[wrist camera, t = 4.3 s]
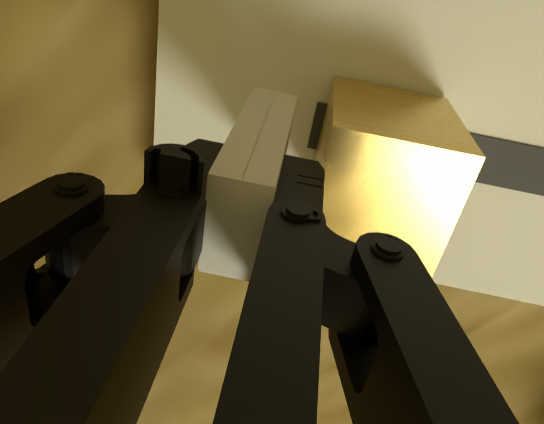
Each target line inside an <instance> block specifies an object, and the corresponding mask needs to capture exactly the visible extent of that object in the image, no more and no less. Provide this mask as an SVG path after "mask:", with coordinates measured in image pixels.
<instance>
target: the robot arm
mask: <svg viewBox="0 0 544 424" xmlns="http://www.w3.org/2000/svg"><path fill="white" fill-rule="evenodd" d="M297 97H298V96H297V95H292V94H287V93H282V92H277V91H272V90H267V89H262V88H256V87H254V88H253V90H252V92H251V94H250V96H249V98H248V100H247V102H246V103H245V105H244V107H243V109H242V111H241V113H240V115H239V116H238V118H237V120H236V122H235V124H234V126H233V128H232V130H231V131H230V133H229V135H228V137H227V139H226V141H225V143H219V142H214V141H209V140H204V139H196V140H194V141H192V142H190V143H188V144H186V145H182V144H173V143H168V144H158V145H154V146H151V147H149V148H148V149H146V150H145V152H144V184H143V186H142V187H141V188H140V190H139V191H138V192H137V194H133V195H105V185H104V184H103V183H102V181H101V180H100V179H98V178H96V177H94V176H91V175H87V174H83V173H77V172H76V173H75V172H69V173H65V174H58V175H55V176H52V177H49V178H46V179H45V180H43V181H41V182H39V183H37V184H35V185H33V186H31V187H29V188H27V189H26V190H24V191H22V192H20V193H18V194H16V195H14V196H12V197H10V198H8V199H7V200H5V201H3V202H1V203H0V424H136V423H137V421H138V418H139V416H140V413H141V411H142V408H143V406H144V404H145V401H146V399H147V396H148V394H149V391H150V389H151V386H152V384H153V381H154V379H155V376H156V374H157V372H158V369H159V367H160V364H161V362H162V359H163V357H164V354H165V352H166V349H167V347H168V345H169V342H170V340H171V337H172V335H173V332H174V330H175V327H176V325H177V322H178V320H179V318H180V315H181V313H182V310H183V308H184V305H185V303H186V300H187V298H188V295H189V293H190V290H191V288H192V286H193V278H194V268H195V266H196V263H197V261H198V259H199V266H198V271H200V272H205V273H210V274H215V275H220V276H225V277H229V278H234V279H239V280H244V281H249V285H248V289H247V293H246V296H245V300H244V304H243V308H242V312H241V316H240V320H239V324H238V327H237V331H236V335H235V339H234V343H233V347H232V351H231V355H230V358H229V362H228V366H227V370H226V374H225V378H224V382H223V386H222V389H221V393H220V397H219V401H218V405H217V409H216V413H215V417H214V420H213V424H316V423H317V402H318V382H319V361H320V340H321V325H323V326H325V327H327V328H329V340H330V344H331V348H332V351H333V355H334V358H335V362H336V365H337V369H338V373H339V376H340V380H341V383H342V387H343V391H344V394H345V398H346V401H347V405H348V409H349V412H350V416H351V419H352V423H353V424H519V423H518V421H517V419H516V418H515V416H514V414H513V413H512V411H511V409H510V408H509V406H508V404H507V403H506V401H505V399H504V398H503V396H502V394H501V393H500V391H499V389H498V388H497V386H496V384H495V383H494V381H493V379H492V378H491V376H490V374H489V373H488V371H487V369H486V368H485V366H484V364H483V363H482V361H481V359H480V358H479V356H478V354H477V353H476V351H475V349H474V348H473V346H472V344H471V343H470V341H469V339H468V338H467V336H466V334H465V333H464V331H463V329H462V328H461V326H460V324H459V323H458V321H457V319H456V317H455V316H454V314H453V312H452V311H451V309H450V307H449V306H448V304H447V302H446V301H445V299H444V297H443V296H442V294H441V292H440V291H439V289H438V287H437V286H436V284H435V282H434V281H433V279H432V277H431V276H430V274H429V272H428V271H427V269H426V267H425V266H424V264H423V262H422V261H421V259H420V257H419V256H418V254H417V252H416V251H415V250H414V249H413V248H412V247H411V246H410V245H409V244H408V243H406V242H405V241H403V240H402V239H400V238H398V237H396V236H393V235H391V234H387V233H380V232H370V233H366V234H363V235H361V236H360V237H359V238H358V240H357V241H356V243H355V242H353V241H350V240H348V239H345V238H343V237H341V236H339V235H337V234H336V233H335V232H333V231H332V230H331V229H330V228H329V227H328V226H327V225H326V218H325V215H324V213H323V198H324V180H325V170H324V168H323V167H322V165H321V164H320V163H319V161H315V160H310V159H305V158H300V157H295V156H290V155H286V154H287V149H288V144H289V138H290V133H291V128H292V123H293V118H294V113H295V108H296V103H297ZM44 255H45V259H46V263H45V264H44V265H43V266H41V267H40V268H38V269H35V268H34V263H35V262H36V261H37V260H39V259H40V258H41V257H43V256H44Z"/></svg>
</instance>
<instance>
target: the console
mask: <svg viewBox="0 0 544 424" xmlns="http://www.w3.org/2000/svg"><path fill="white" fill-rule="evenodd" d="M334 75H335V76H340V77H345V78H349V79H354V80H359V81H364V82H369V83H374V84H379V85H384V86H389V87H394V88H399V89H404V90H409V91H414V92H419V93H424V94H429V95H434V96H439V97H444V98H447V99H448V101H449V102H450V104H451V105H452V107H453V108H454V110H455V111H456V113H457V114H458V116H459V117H460V119H461V120H462V122H463V123H464V125H465V127H466V128H467V130H468V131H469V133H470V134H471V136H472V137H473V139H474V140H475V142H476V143H477V145H478V146H479V148H480V150H481V151H482V153H483V154H484V156H485V157H486V158H485V160H484V162H483V164H482V167H481V169H480V171H479V173H478V176H477V178H476V180H475V182H474V185H473V187H472V189H471V191H470V193H469V196H468V198H467V200H466V202H465V205H464V207H463V209H462V211H461V214H460V216H459V218H458V220H457V222H456V225H455V227H454V229H453V231H452V234H451V236H450V238H449V240H448V243H447V245H446V247H445V249H444V251H443V254H442V256H441V258H440V260H439V263H438V265H437V267H436V269H435V272H434V274H433V276H431V277H432V279H433V281H434V282H435V283H436V284H441V285H445V286H450V287H455V288H460V289H465V290H469V291H474V292H479V293H484V294H489V295H494V296H498V297H503V298H508V299H513V300H518V301H522V302H527V303H532V304H537V305H542V306H544V0H159V15H158V41H157V68H156V95H155V122H154V145H158V144H168V143H173V144H182V145H186V144H188V143H190V142H192V141H194V140H196V139H204V140H209V141H214V142H219V143H225V141H226V139H227V137H228V135H229V133H230V131H231V130H232V128H233V126H234V124H235V122H236V120H237V118H238V116H239V115H240V113H241V111H242V109H243V107H244V105H245V103H246V102H247V100H248V98H249V96H250V94H251V92H252V90H253V88H254V87H256V88H262V89H267V90H272V91H277V92H282V93H287V94H292V95H297V96H298V97H297V103H296V108H295V113H294V118H293V123H292V128H291V133H290V138H289V144H288V149H287V154H286V155H290V156H295V157H300V158H305V159H310V160H314V157H315V153H316V149H317V145H318V140H319V136H320V132H321V128H322V123H323V119H324V115H325V111H326V107H327V102H328V98H329V94H330V90H331V85H332V81H333V77H334Z"/></svg>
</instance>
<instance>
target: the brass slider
mask: <svg viewBox="0 0 544 424" xmlns="http://www.w3.org/2000/svg"><path fill="white" fill-rule="evenodd" d="M485 158H486V157H485V156H484V154H483V153H482V151H481V150H480V148H479V146H478V145H477V143H476V142H475V140H474V139H473V137H472V136H471V134H470V133H469V131H468V130H467V128H466V127H465V125H464V123H463V122H462V120H461V119H460V117H459V116H458V114H457V113H456V111H455V110H454V108H453V107H452V105H451V104H450V102H449V101H448V99H447V98H444V97H439V96H434V95H429V94H424V93H419V92H414V91H409V90H404V89H399V88H394V87H389V86H384V85H379V84H374V83H369V82H364V81H359V80H354V79H349V78H345V77H340V76H335V75H334V77H333V81H332V85H331V90H330V94H329V98H328V102H327V107H326V111H325V115H324V119H323V123H322V128H321V132H320V136H319V140H318V145H317V149H316V153H315V157H314V160H315V161H319V163H320V164H321V165H322V167H323V168H324V170H325V180H324V198H323V213H324V215H325V218H326V225H327V226H328V227H329V228H330V229H331V230H332V231H333V232H335V233H336V234H337V235H339V236H341V237H343V238H345V239H348V240H350V241H353V242H355V243H356V241H357V240H358V238H359V237H360V236H361V235H363V234H366V233H370V232H380V233H387V234H391V235H393V236H396V237H398V238H400V239H402V240H403V241H405V242H406V243H408V244H409V245H410V246H411V247H412V248H413V249H414V250H415V251H416V252H417V254H418V256H419V257H420V259H421V261H422V262H423V264H424V266H425V267H426V269H427V271H428V272H429V274H430V276H433V274H434V272H435V269H436V267H437V265H438V263H439V260H440V258H441V256H442V254H443V251H444V249H445V247H446V245H447V243H448V240H449V238H450V236H451V234H452V231H453V229H454V227H455V225H456V222H457V220H458V218H459V216H460V214H461V211H462V209H463V207H464V205H465V202H466V200H467V198H468V196H469V193H470V191H471V189H472V187H473V185H474V182H475V180H476V178H477V176H478V173H479V171H480V169H481V167H482V164H483V162H484V160H485Z"/></svg>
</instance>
